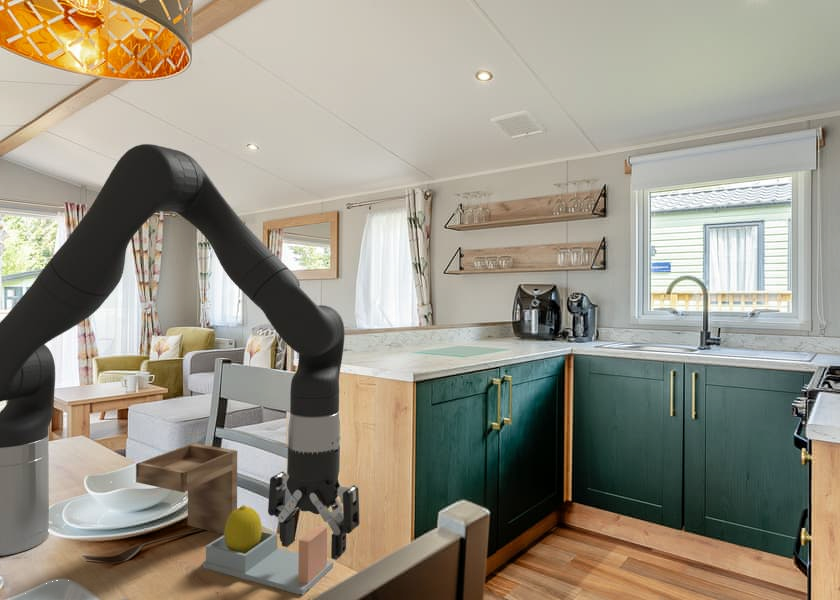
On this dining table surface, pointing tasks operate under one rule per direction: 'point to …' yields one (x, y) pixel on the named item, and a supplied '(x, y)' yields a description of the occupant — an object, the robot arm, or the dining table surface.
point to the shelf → (197, 481)
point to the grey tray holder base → (274, 561)
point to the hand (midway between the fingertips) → (312, 550)
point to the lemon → (243, 530)
